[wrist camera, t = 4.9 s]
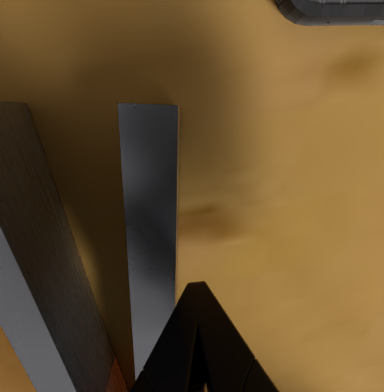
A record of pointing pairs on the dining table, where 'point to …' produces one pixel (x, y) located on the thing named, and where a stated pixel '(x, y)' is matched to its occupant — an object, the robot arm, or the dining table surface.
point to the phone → (333, 12)
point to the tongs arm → (150, 217)
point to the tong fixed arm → (45, 273)
